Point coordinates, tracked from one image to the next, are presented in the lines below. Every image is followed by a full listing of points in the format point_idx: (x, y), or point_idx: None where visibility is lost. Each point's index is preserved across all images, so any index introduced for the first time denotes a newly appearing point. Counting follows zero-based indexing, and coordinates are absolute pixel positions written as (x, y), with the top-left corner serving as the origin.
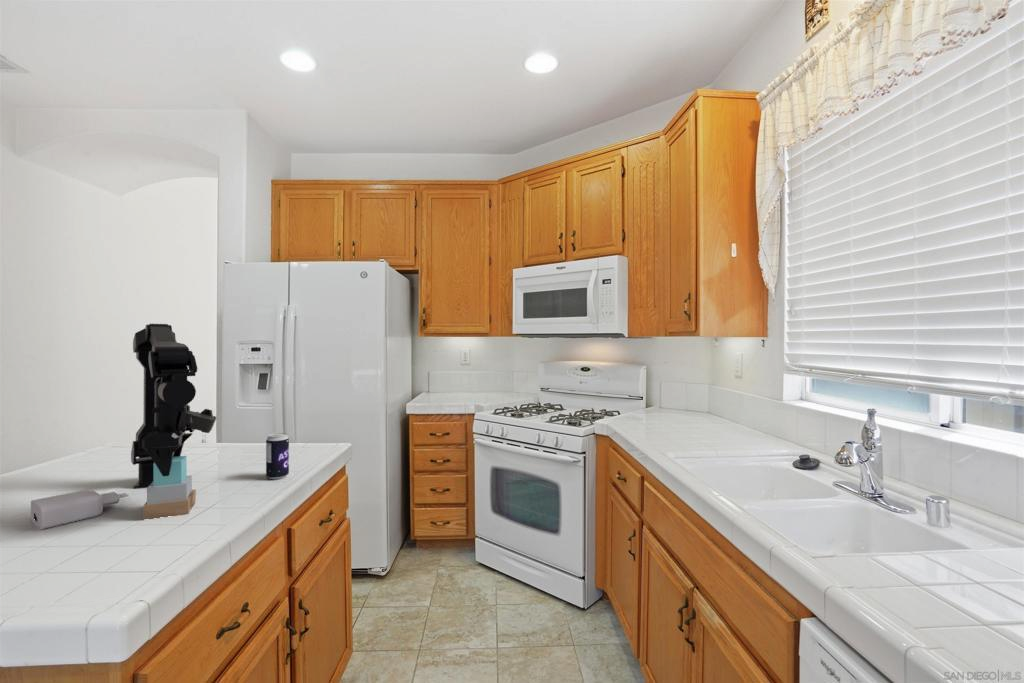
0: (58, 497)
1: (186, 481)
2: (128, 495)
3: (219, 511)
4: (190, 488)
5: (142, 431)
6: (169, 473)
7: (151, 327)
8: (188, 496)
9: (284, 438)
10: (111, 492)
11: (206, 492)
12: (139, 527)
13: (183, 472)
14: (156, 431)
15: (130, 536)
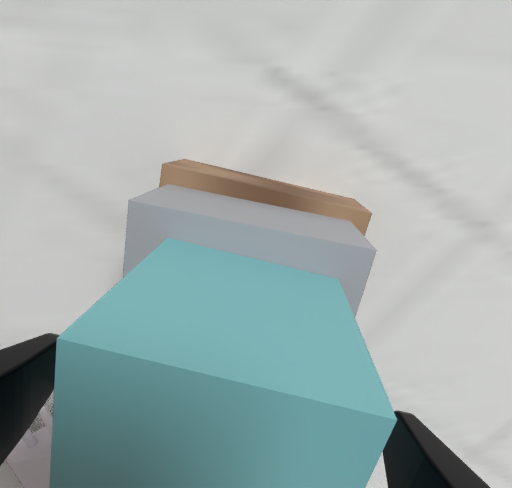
0: None
1: (305, 246)
2: (45, 407)
3: (421, 62)
4: (211, 197)
5: None
6: (419, 423)
7: None
8: (293, 208)
9: None
10: (22, 468)
11: (27, 97)
12: (389, 355)
13: (266, 291)
14: None
15: (471, 378)
